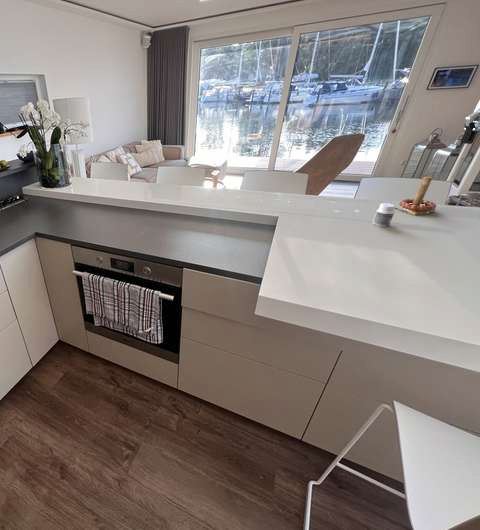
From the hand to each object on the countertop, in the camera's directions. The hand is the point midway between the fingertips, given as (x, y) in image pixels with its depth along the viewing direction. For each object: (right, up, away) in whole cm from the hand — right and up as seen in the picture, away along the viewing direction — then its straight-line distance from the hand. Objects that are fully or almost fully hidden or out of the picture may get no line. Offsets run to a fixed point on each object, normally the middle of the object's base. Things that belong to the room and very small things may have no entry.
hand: (478, 141), depth 97 cm
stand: (-4, -20, +18) cm, 27 cm away
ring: (-4, -18, +17) cm, 25 cm away
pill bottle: (-27, -28, +8) cm, 40 cm away
